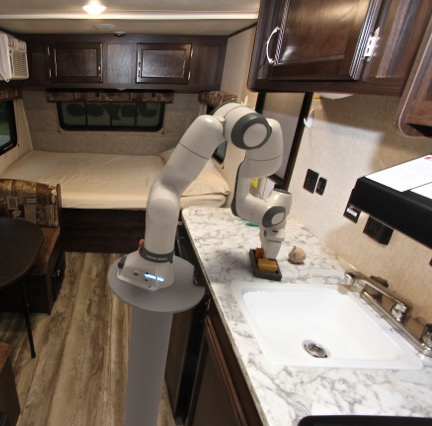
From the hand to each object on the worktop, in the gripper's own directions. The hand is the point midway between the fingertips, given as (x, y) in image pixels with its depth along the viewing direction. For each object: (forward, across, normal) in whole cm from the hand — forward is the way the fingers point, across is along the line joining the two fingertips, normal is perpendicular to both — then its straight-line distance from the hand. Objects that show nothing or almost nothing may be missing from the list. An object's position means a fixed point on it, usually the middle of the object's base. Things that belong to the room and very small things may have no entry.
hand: (263, 256), depth 124 cm
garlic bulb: (+3, -5, +14) cm, 15 cm away
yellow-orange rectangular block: (+2, +8, 0) cm, 9 cm away
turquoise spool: (+3, -40, +1) cm, 40 cm away
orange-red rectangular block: (+2, 0, 0) cm, 2 cm away
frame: (+3, +4, 0) cm, 5 cm away
